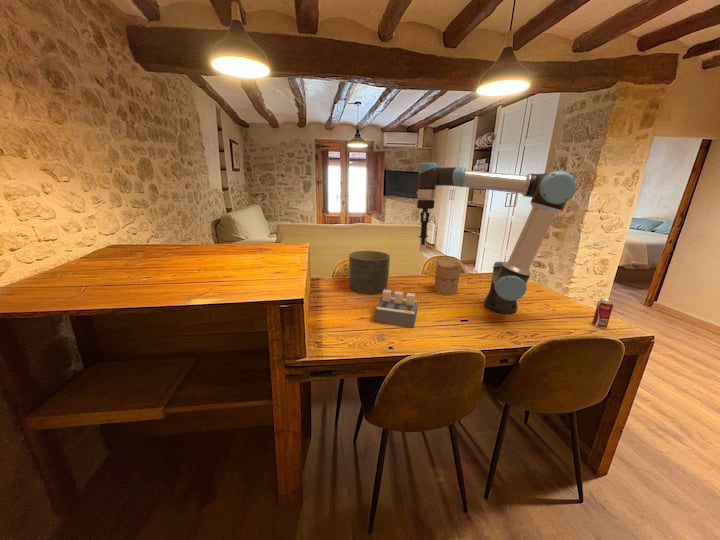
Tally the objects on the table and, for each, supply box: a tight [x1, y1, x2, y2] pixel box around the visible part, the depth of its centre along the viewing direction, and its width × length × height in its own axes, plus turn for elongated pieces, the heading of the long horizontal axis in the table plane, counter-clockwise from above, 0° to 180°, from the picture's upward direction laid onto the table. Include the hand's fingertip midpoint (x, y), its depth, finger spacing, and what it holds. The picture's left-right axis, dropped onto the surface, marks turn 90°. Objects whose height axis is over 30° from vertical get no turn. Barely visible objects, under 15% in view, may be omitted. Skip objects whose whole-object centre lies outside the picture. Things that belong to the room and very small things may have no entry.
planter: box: [348, 250, 391, 296], centre depth 165 cm, size 22×22×20 cm
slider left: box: [381, 289, 393, 302], centre depth 137 cm, size 4×4×4 cm
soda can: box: [591, 298, 614, 329], centre depth 131 cm, size 5×5×12 cm
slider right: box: [405, 292, 416, 306], centre depth 133 cm, size 4×4×4 cm
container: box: [433, 258, 462, 296], centre depth 163 cm, size 13×13×18 cm
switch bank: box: [374, 296, 419, 328], centre depth 134 cm, size 17×16×6 cm
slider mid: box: [393, 290, 404, 304], centre depth 135 cm, size 4×4×4 cm
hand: (422, 251), depth 139 cm, fingers closed
